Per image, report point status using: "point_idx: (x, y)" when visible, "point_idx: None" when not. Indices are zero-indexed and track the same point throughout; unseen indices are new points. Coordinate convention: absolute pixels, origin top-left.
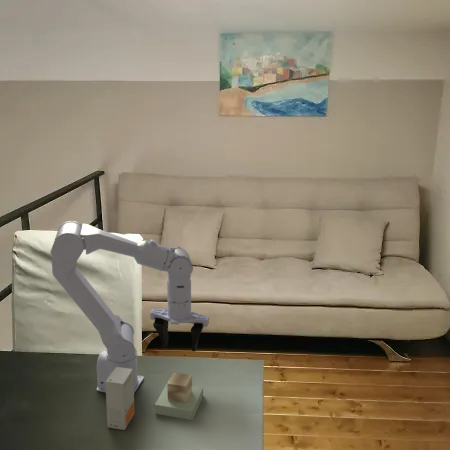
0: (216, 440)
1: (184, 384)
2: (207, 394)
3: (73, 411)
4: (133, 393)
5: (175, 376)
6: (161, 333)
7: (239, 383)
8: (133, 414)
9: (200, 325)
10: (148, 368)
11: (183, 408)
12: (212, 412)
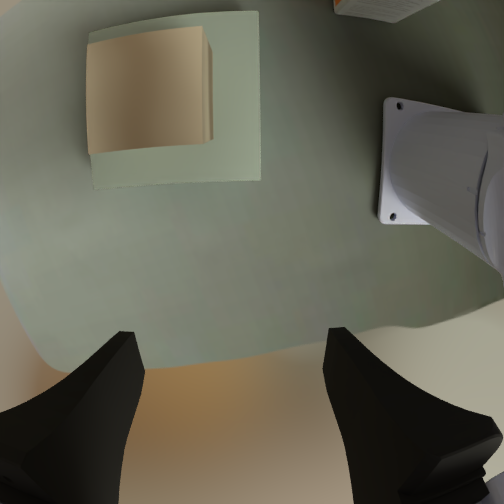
0: (27, 10)
1: (99, 56)
2: (101, 195)
3: (496, 30)
4: None
5: (174, 103)
6: (393, 397)
7: (42, 284)
8: (334, 3)
9: (3, 492)
10: (375, 281)
11: (126, 29)
12: (56, 109)
